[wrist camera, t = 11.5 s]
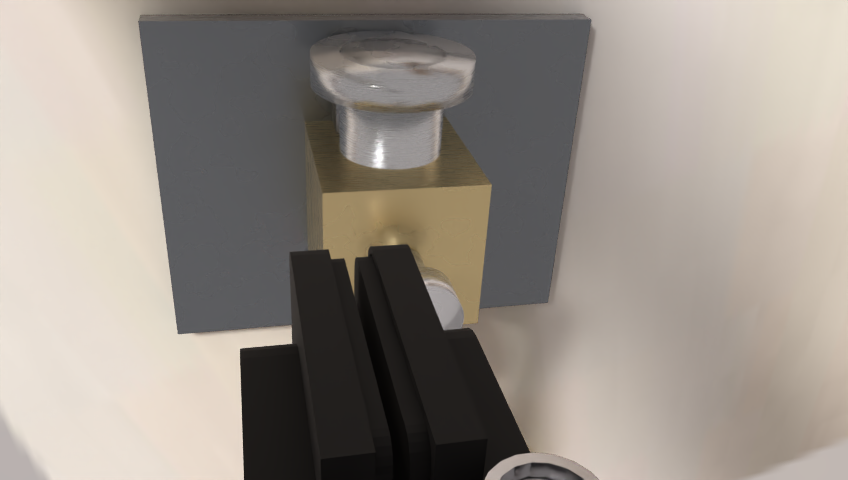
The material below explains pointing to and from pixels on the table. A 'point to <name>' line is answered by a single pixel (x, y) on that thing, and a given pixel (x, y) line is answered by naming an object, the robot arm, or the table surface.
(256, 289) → the valve body
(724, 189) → the table surface
